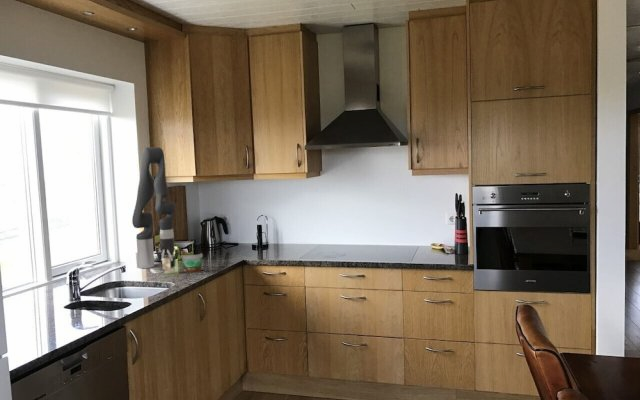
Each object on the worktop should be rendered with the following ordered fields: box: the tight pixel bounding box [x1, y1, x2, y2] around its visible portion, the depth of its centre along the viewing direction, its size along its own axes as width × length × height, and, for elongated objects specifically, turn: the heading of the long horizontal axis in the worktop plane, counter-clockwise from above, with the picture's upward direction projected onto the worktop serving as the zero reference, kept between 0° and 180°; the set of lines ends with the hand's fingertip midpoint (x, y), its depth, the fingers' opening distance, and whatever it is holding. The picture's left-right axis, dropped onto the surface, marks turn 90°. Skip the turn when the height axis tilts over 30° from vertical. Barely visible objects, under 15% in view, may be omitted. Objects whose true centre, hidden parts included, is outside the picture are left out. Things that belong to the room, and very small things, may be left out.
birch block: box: [161, 256, 175, 271], centre depth 295 cm, size 4×4×6 cm
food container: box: [180, 252, 204, 274], centre depth 297 cm, size 12×6×10 cm, turn 105°
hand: (168, 267), depth 296 cm, fingers closed on birch block, 4 cm apart
